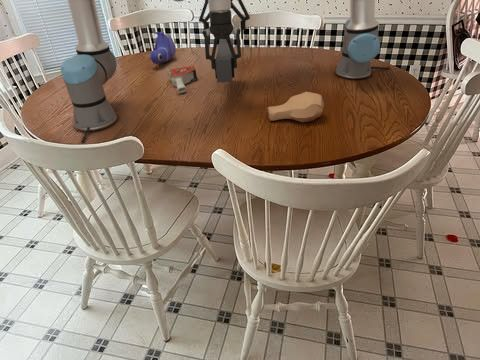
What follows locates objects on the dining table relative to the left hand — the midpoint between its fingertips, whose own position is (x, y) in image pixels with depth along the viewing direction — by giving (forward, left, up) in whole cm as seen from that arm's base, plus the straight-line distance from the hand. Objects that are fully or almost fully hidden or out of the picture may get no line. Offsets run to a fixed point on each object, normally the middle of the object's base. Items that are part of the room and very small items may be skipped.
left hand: (225, 76), depth 135 cm
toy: (+54, +36, -11) cm, 66 cm away
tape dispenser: (+23, +22, -11) cm, 34 cm away
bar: (+10, 0, -1) cm, 10 cm away
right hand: (+21, 0, +8) cm, 22 cm away
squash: (-16, -25, -11) cm, 32 cm away
